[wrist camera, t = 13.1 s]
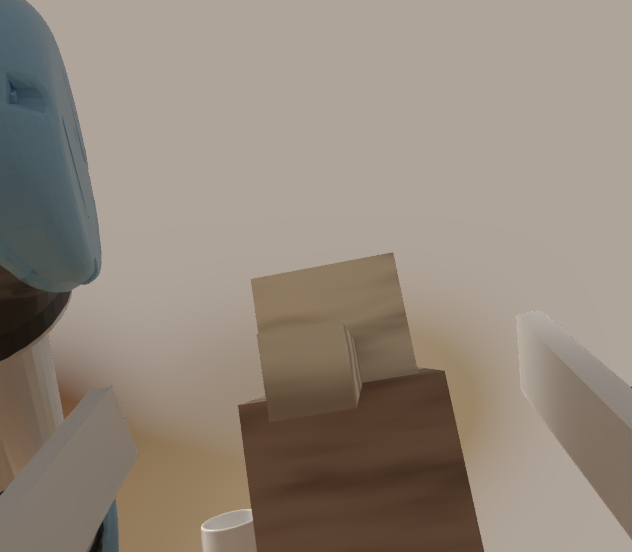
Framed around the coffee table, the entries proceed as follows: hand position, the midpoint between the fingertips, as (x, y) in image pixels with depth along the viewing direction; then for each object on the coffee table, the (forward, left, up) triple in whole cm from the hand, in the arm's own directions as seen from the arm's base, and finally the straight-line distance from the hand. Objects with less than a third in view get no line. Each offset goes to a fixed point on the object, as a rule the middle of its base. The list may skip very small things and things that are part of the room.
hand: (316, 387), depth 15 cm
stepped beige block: (-10, +8, -1) cm, 13 cm away
